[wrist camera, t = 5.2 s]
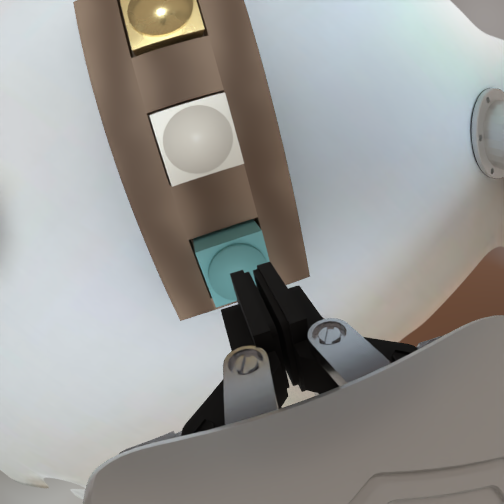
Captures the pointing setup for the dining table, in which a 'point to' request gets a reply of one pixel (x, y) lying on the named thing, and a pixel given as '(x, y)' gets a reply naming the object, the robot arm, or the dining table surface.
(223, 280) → the teal button
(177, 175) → the cream button
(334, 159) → the dining table surface
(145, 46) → the brass button
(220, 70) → the button panel
